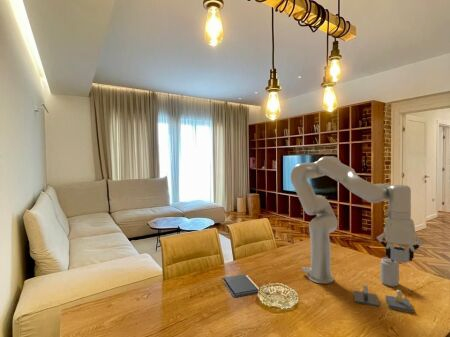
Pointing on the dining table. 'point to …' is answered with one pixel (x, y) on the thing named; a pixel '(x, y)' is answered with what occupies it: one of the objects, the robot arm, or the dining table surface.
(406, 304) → the square base with peg
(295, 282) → the dining table surface
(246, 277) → the dark grey book
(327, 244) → the robot arm
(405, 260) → the collar
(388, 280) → the can
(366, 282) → the dining table surface
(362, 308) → the dining table surface
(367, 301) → the stand
